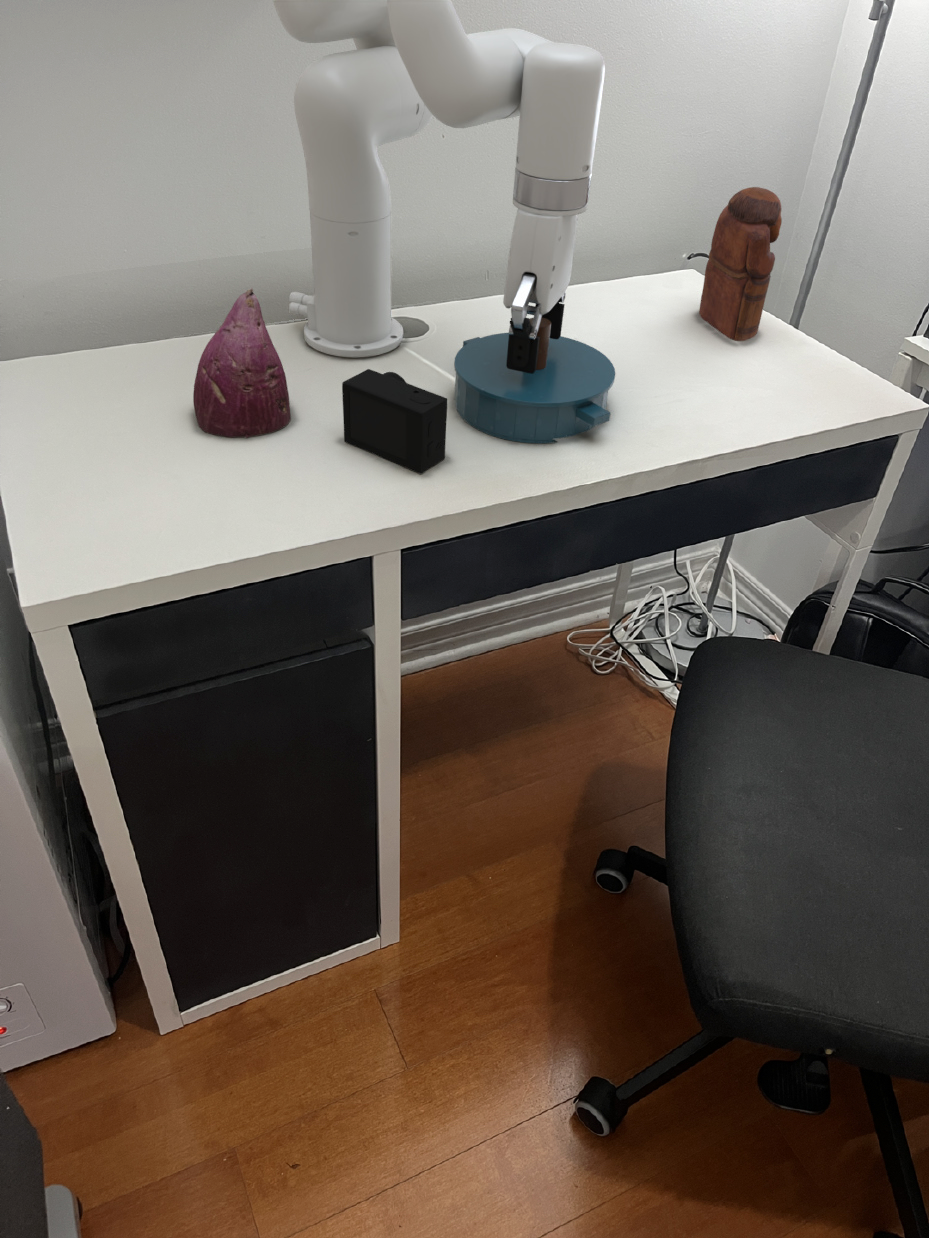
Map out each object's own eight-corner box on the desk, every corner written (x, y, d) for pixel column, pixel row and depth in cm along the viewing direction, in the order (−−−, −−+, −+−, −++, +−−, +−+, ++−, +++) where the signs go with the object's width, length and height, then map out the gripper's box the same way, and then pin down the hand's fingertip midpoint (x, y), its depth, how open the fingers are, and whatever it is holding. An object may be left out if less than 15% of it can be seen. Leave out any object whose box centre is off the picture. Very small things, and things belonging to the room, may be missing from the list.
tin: (537, 470, 98) (542, 431, 95) (411, 386, 111) (412, 349, 108) (652, 427, 107) (659, 389, 104) (522, 353, 120) (525, 318, 117)
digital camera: (453, 454, 100) (456, 393, 95) (421, 475, 96) (423, 413, 92) (376, 423, 104) (376, 363, 100) (344, 442, 101) (341, 381, 96)
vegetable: (255, 414, 111) (261, 279, 105) (308, 437, 105) (318, 296, 98) (173, 419, 104) (175, 275, 97) (225, 444, 97) (230, 292, 91)
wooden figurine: (771, 343, 126) (809, 201, 115) (729, 347, 124) (764, 204, 113) (725, 309, 135) (757, 174, 123) (686, 312, 133) (714, 176, 121)
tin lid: (525, 428, 97) (531, 372, 93) (422, 362, 107) (423, 310, 103) (647, 385, 106) (657, 333, 102) (540, 329, 116) (546, 279, 112)
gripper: (540, 163, 101) (525, 318, 112) (487, 207, 88) (476, 377, 99) (608, 174, 99) (586, 330, 110) (564, 220, 87) (544, 392, 98)
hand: (534, 352), depth 105 cm, fingers open, 9 cm apart
